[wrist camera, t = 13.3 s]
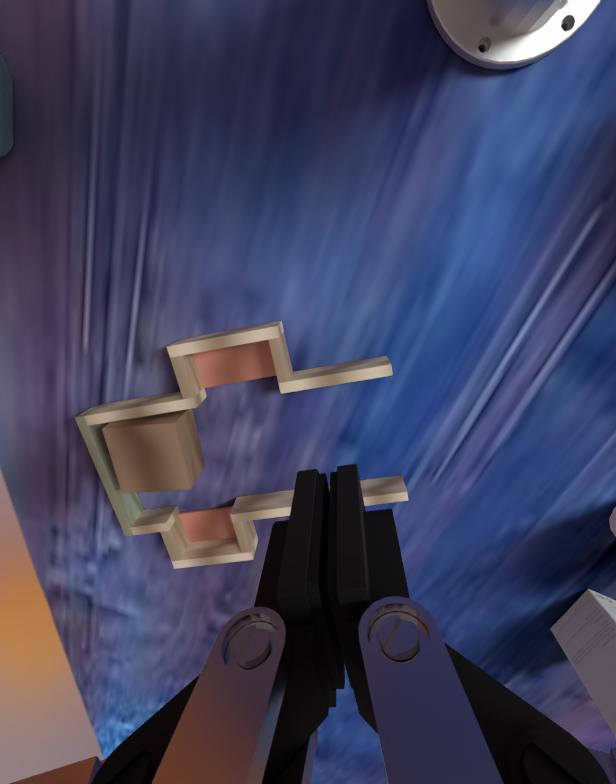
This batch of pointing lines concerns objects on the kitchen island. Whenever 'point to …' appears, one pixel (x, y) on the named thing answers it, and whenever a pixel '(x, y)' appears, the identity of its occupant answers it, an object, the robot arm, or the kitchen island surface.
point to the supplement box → (592, 648)
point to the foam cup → (613, 521)
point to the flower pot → (6, 109)
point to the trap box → (194, 373)
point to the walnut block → (155, 451)
